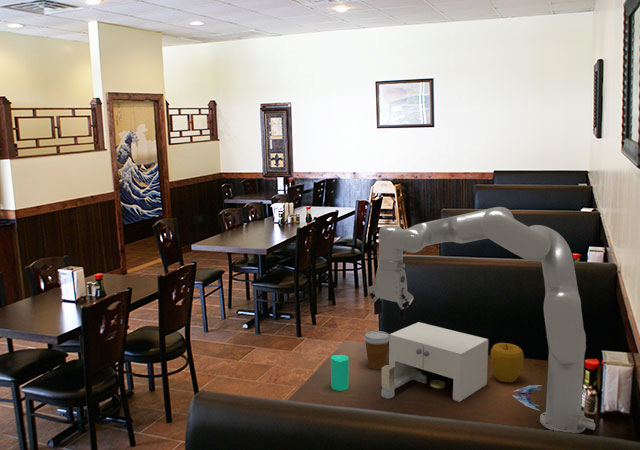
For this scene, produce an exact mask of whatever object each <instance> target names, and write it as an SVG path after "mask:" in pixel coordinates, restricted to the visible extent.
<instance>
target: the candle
mask: <svg viewBox="0 0 640 450" xmlns="http://www.w3.org/2000/svg"><path fill="white" fill-rule="evenodd" d="M349 358H350V357H349V356H348V355H344V354H335V355H331V357H330V381H331V382H330V388H331V389H332V390H334V391H340V392H341V391H342V392H343V391H346V390H348V389H349V387H350V386H349V385H350V382H349V381H350V379H349V378H350V377H349V376H350V370H349V368H350V367H349V363H350V361H349V360H350V359H349Z"/></svg>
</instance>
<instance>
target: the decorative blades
mask: <svg viewBox="0 0 640 450" xmlns="http://www.w3.org/2000/svg"><path fill="white" fill-rule="evenodd" d="M539 387H543V384H542V385H540V384H539V385H538V384H533V385H527V386H525V387H520V388H519V389H516V390H513V391H512V393H517V394H511V396H512V397H513V398H515V400H517V401H518V402H520V403H522V404H523V405H524V406H525V407H528V408H530V409H533V410H536V411H541V410H540V409H538V408H536V407H539V404H537V403H534V402H533V401H531V400H532V398H531V397H530V395H532V394H533V393H532V392H534V391H540V390H541V388H539Z"/></svg>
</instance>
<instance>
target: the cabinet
mask: <svg viewBox="0 0 640 450" xmlns="http://www.w3.org/2000/svg"><path fill="white" fill-rule="evenodd" d="M388 334H389V333H388ZM388 350H389V351H388V365H390V366H393V367H395V379H397V378H399V377H401V376H403V375H405V374H407V373H408V371H412V370H414V369H415V370H418V369H420V370H423V371H426V372H430V373H433V374H436V375H439V376H443V377H447V378H450V379H451V380H452V379H453V380H452V381H453V382H452V383H453V385H452V400H453V401H456V402H459V403H460V402H462V401H463V400H465V399H467V398H468V397H469V396H472V395H473V394H474V393H476V392H477V391H478V390H480V389H482V388H484V387H485V386H487V384H488V361H489V338H484V337H481V336H477V335H473V334H468V333H464V332H459V331H455V330H452V329H447V328H444V327H441V326H436V325H431V324H428V323H424V322H418V321H417V322H416V323H413V324H411V325H408V326H406V327H403V328H401V329H398V330H397V331H394V332H392V333H390V334H389V343H388Z"/></svg>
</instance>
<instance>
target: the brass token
mask: <svg viewBox="0 0 640 450" xmlns="http://www.w3.org/2000/svg"><path fill="white" fill-rule="evenodd" d="M429 385H430V387H431V388H433V389H439V390H440V389H444V388H445V387H446V382H445V381H443V380H439V379H434V380H430V382H429Z"/></svg>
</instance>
